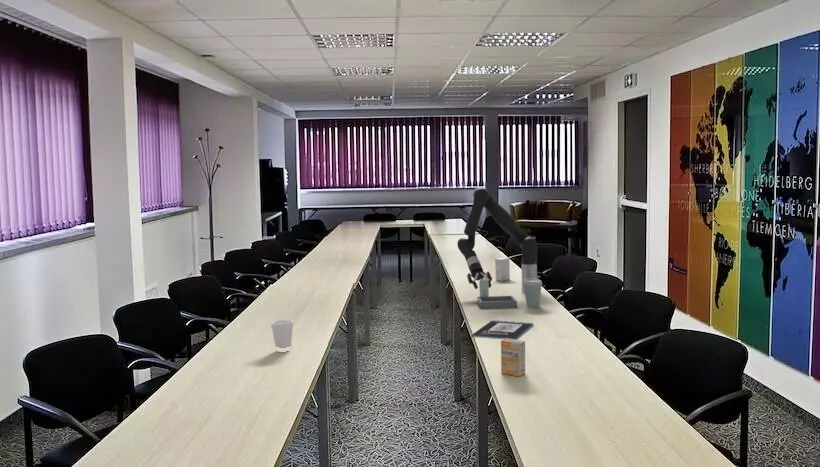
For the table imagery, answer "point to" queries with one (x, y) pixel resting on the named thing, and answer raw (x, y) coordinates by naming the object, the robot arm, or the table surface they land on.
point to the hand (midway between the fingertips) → (483, 287)
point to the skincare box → (502, 269)
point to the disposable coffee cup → (532, 291)
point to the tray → (496, 302)
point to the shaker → (484, 287)
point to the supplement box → (513, 357)
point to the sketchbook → (503, 329)
